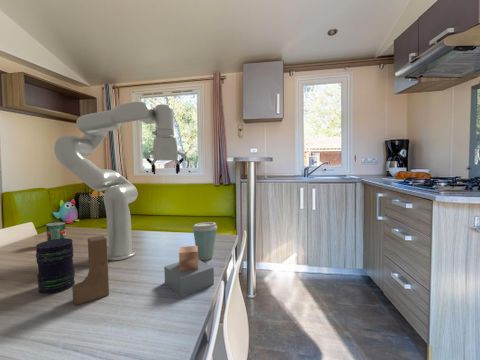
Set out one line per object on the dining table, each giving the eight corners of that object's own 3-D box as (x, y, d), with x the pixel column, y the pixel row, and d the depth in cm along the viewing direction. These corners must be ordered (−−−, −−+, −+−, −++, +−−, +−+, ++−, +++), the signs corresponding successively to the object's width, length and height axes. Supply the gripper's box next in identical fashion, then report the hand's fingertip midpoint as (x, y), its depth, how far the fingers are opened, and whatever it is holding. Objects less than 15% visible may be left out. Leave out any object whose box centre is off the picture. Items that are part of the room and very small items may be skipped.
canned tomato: (69, 243, 129) (68, 222, 128) (51, 248, 122) (50, 226, 121) (62, 241, 133) (61, 221, 132) (44, 245, 126) (43, 224, 126)
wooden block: (74, 306, 71) (71, 244, 70) (72, 299, 74) (69, 240, 73) (109, 295, 77) (106, 238, 76) (106, 289, 80) (103, 235, 79)
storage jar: (45, 297, 76) (43, 249, 75) (32, 289, 81) (30, 244, 80) (80, 284, 84) (78, 241, 83) (67, 277, 89) (64, 236, 88)
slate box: (181, 297, 76) (180, 278, 75) (164, 283, 85) (164, 266, 84) (213, 285, 83) (213, 267, 83) (195, 273, 92) (195, 257, 92)
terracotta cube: (179, 271, 80) (179, 252, 80) (180, 263, 86) (180, 247, 86) (198, 269, 82) (197, 251, 81) (197, 262, 87) (197, 245, 87)
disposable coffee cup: (187, 259, 105) (187, 224, 105) (202, 251, 115) (202, 219, 114) (208, 263, 101) (207, 227, 100) (222, 255, 110) (221, 221, 109)
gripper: (143, 132, 101) (144, 174, 102) (186, 134, 107) (187, 173, 108) (143, 134, 108) (144, 174, 109) (183, 136, 114) (184, 173, 115)
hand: (166, 173), depth 108 cm, fingers open, 9 cm apart
